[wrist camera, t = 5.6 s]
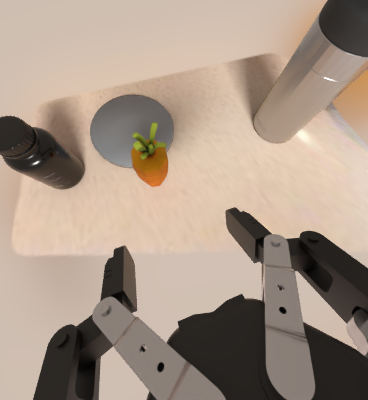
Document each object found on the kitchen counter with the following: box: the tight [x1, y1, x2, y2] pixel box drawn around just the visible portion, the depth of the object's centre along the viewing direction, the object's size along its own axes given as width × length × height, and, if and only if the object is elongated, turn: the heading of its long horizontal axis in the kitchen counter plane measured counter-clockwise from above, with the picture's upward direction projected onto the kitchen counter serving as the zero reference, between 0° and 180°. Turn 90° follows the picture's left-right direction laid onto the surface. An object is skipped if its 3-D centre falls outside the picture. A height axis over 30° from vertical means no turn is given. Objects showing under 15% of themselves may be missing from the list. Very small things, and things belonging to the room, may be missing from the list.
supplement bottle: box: [0, 116, 84, 189], centre depth 26 cm, size 7×7×12 cm
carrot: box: [131, 122, 168, 187], centre depth 25 cm, size 5×5×15 cm
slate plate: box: [90, 95, 173, 168], centre depth 34 cm, size 16×16×1 cm
